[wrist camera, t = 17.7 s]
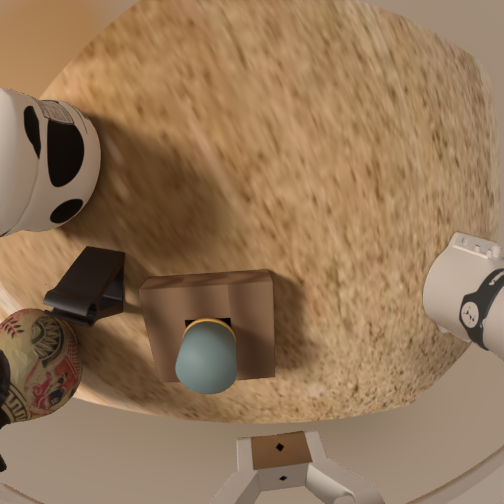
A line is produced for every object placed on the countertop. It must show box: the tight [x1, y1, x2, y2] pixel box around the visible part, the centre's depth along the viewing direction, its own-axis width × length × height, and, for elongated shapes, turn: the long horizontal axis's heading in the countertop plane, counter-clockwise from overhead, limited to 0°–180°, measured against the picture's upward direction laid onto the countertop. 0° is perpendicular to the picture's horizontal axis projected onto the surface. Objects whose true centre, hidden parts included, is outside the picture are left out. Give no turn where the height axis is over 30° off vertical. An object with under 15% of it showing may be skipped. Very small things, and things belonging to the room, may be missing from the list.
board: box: [138, 269, 275, 382], centre depth 37 cm, size 16×14×5 cm
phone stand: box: [43, 246, 125, 328], centre depth 31 cm, size 9×6×12 cm, turn 170°
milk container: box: [0, 88, 101, 237], centre depth 24 cm, size 17×17×18 cm
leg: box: [175, 318, 237, 394], centre depth 33 cm, size 6×6×12 cm
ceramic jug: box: [0, 284, 82, 472], centre depth 23 cm, size 17×15×30 cm
